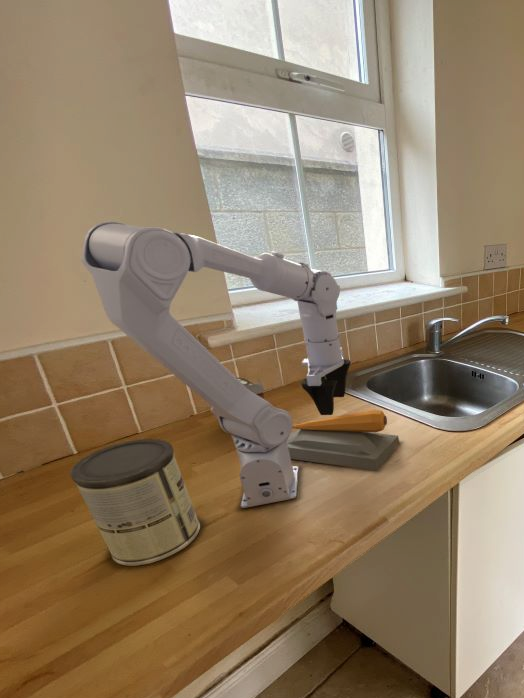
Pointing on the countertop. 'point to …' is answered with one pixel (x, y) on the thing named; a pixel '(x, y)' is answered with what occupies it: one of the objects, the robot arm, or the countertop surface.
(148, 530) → the coffee can
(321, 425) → the carrot
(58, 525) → the countertop surface
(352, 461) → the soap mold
